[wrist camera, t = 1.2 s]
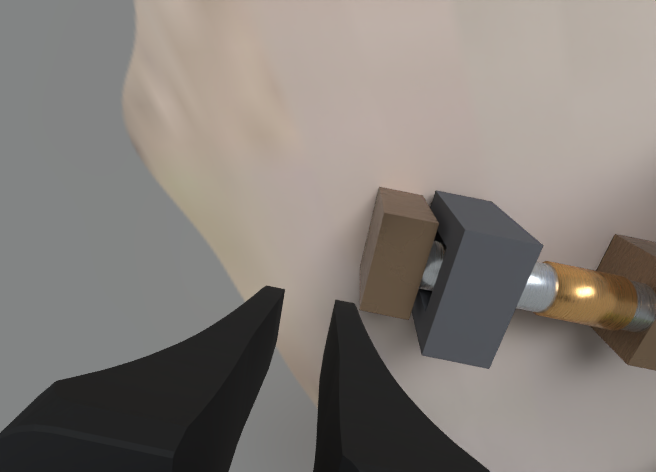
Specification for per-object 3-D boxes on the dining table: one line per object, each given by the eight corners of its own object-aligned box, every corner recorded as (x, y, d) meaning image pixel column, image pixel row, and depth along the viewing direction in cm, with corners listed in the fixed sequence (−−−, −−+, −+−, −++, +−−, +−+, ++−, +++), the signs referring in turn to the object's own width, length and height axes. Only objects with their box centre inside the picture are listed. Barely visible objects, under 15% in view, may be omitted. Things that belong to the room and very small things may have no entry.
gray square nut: (491, 201, 20) (543, 245, 14) (456, 298, 22) (488, 368, 16) (435, 190, 20) (465, 229, 14) (406, 287, 22) (421, 355, 16)
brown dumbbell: (659, 243, 20) (742, 285, 16) (615, 319, 22) (679, 376, 18) (379, 186, 20) (384, 213, 16) (359, 267, 22) (359, 311, 18)
